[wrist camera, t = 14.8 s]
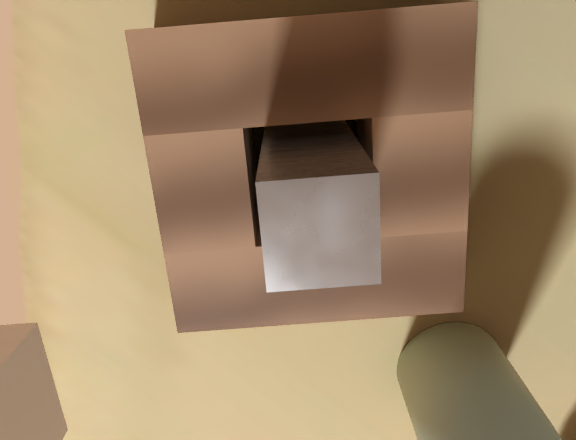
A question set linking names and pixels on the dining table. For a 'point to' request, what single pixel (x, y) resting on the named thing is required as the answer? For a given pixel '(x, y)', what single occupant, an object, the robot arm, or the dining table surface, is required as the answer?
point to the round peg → (467, 388)
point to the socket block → (308, 109)
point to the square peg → (317, 208)
